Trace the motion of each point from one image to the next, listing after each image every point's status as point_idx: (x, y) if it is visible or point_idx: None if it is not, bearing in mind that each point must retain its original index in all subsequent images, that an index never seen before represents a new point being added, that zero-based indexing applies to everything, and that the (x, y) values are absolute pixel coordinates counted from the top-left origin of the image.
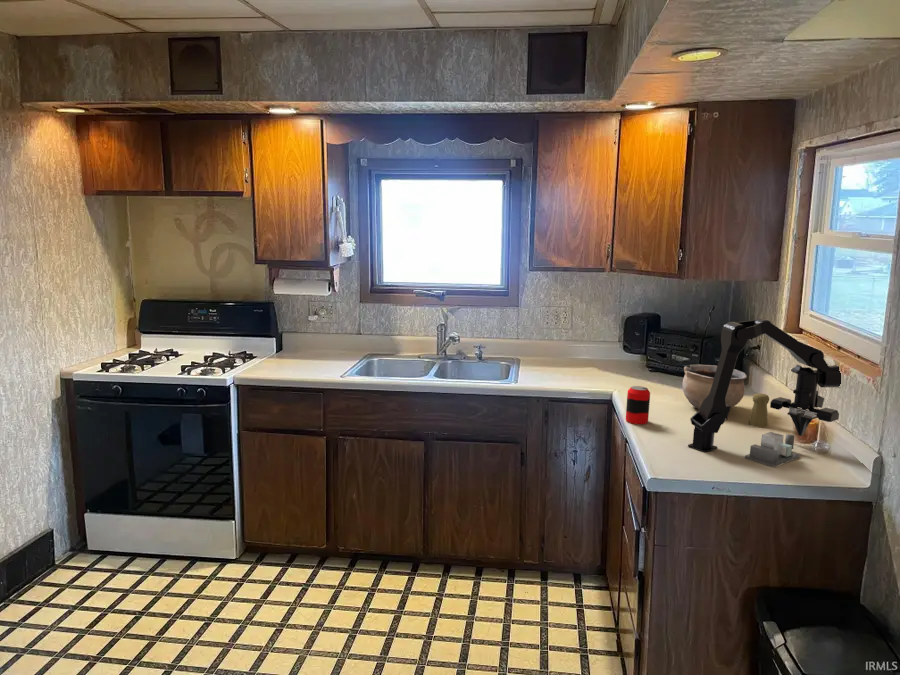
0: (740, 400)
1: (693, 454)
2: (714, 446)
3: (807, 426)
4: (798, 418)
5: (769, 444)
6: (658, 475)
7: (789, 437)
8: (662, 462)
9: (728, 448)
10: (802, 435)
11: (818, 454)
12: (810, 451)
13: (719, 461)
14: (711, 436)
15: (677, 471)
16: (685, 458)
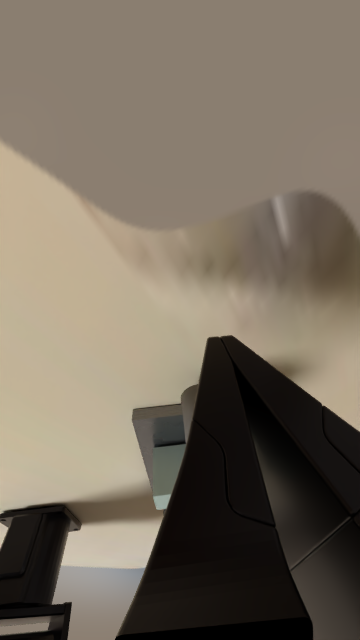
0: None
1: (81, 535)
2: (55, 513)
3: (317, 405)
4: (255, 626)
5: None
6: (141, 567)
7: None
8: (98, 560)
9: (71, 488)
10: (230, 337)
11: (320, 302)
12: (273, 295)
13: (141, 524)
14: (56, 576)
15: (142, 558)
16: (97, 544)
